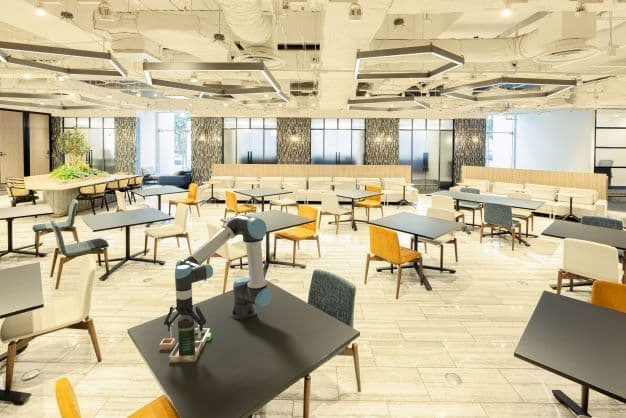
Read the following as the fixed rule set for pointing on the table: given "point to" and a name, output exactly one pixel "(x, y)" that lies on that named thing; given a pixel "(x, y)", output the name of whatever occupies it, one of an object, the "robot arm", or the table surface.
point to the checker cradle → (207, 335)
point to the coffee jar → (186, 335)
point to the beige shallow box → (192, 358)
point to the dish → (167, 344)
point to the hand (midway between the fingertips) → (185, 337)
